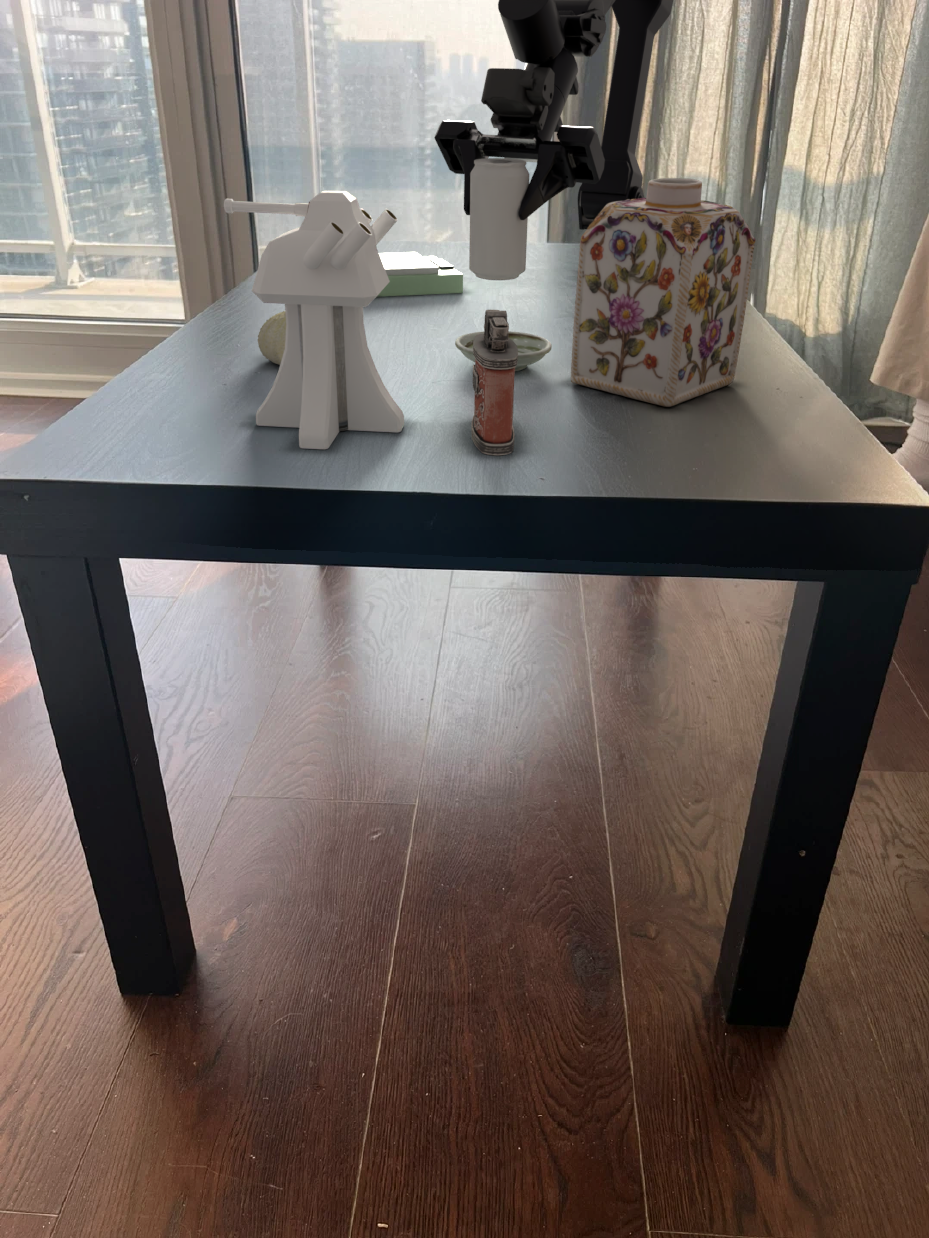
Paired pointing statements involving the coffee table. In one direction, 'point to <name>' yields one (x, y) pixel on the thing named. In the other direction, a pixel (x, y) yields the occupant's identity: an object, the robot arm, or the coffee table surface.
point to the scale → (419, 275)
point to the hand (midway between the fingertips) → (493, 215)
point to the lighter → (494, 386)
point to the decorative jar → (661, 295)
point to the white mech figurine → (325, 318)
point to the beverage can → (497, 218)
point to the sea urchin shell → (273, 338)
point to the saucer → (527, 344)
